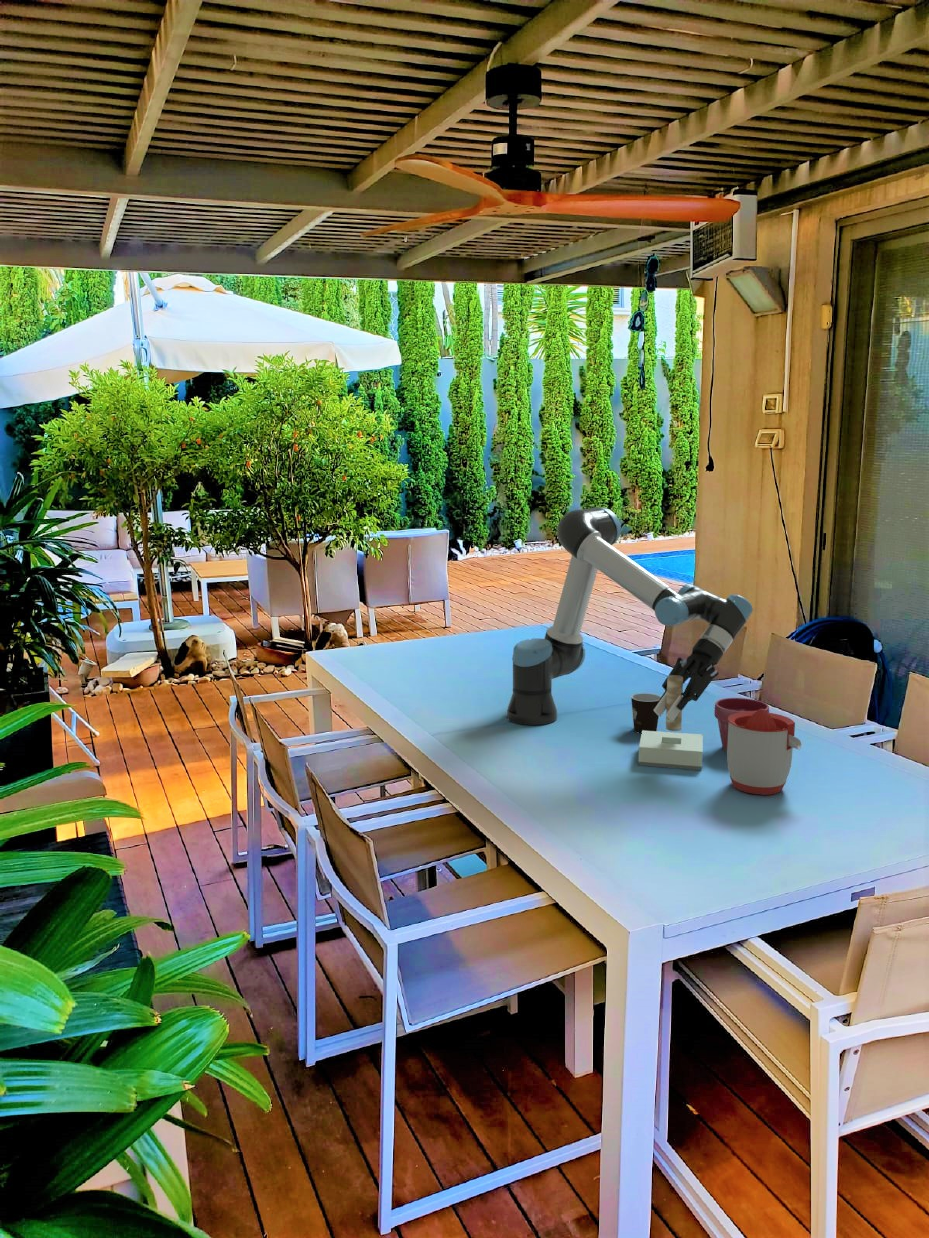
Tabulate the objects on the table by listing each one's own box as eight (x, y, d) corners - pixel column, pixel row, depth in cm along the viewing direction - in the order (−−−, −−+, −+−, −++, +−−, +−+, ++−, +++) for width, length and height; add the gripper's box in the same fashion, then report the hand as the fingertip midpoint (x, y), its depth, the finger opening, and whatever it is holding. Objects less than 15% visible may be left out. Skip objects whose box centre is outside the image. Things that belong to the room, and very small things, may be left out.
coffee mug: (660, 736, 270) (661, 702, 268) (629, 734, 271) (630, 700, 269) (660, 723, 281) (661, 691, 279) (630, 722, 282) (631, 689, 280)
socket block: (638, 765, 246) (638, 746, 245) (641, 747, 260) (642, 730, 259) (701, 770, 243) (702, 751, 242) (701, 752, 256) (702, 734, 255)
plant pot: (730, 737, 268) (732, 693, 266) (776, 749, 258) (779, 703, 256) (702, 749, 258) (704, 704, 256) (749, 761, 249) (752, 715, 246)
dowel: (665, 730, 248) (667, 678, 245) (665, 725, 252) (667, 674, 249) (681, 731, 247) (683, 679, 244) (681, 726, 251) (683, 675, 248)
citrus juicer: (789, 805, 220) (795, 723, 216) (715, 791, 229) (719, 711, 225) (805, 784, 233) (810, 706, 229) (734, 771, 242) (738, 695, 238)
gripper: (742, 660, 246) (693, 732, 241) (695, 648, 261) (648, 715, 256) (729, 643, 243) (678, 715, 238) (682, 631, 257) (633, 699, 252)
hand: (663, 715), depth 247 cm, fingers closed on dowel, 4 cm apart
